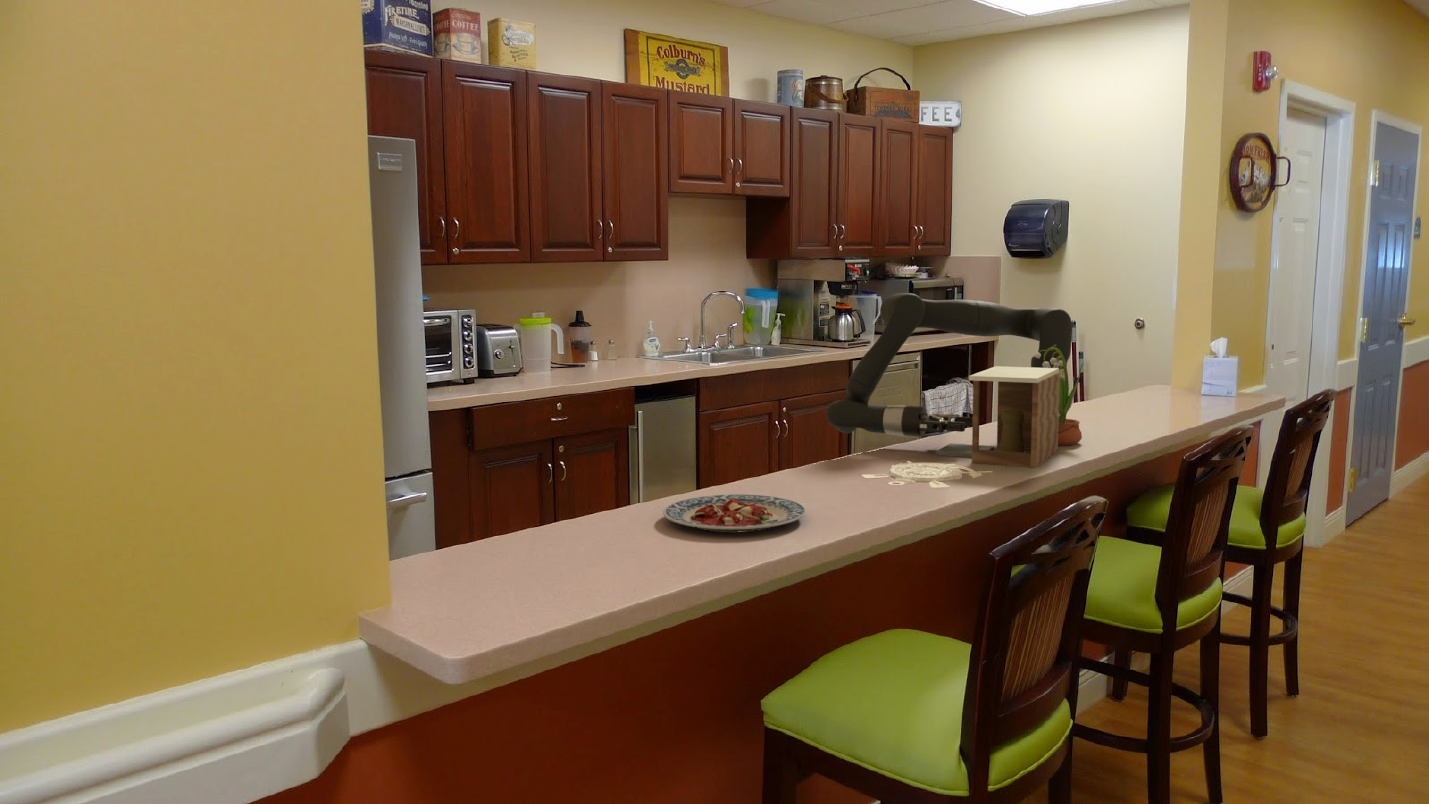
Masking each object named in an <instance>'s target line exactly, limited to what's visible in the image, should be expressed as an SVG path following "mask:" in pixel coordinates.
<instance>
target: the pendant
mask: <svg viewBox="0 0 1429 804" xmlns="http://www.w3.org/2000/svg"><path fill="white" fill-rule="evenodd" d="M962 470H965V471H962ZM982 473H983V474H984V473H987V474H988V473H989V474H990V473H993V470H984V471H982V470H981V471H979V470H978V471H976V470H974V469H972V468H970V467H967V466H963V465H957V464H956V463H941V462H940V463H939V462H936V463H935V462H912V461H911V460H906V463H902V462H900V463H898V464H896V463H895V464H893V465H891V466H890V470H889V473H878V474H876V473H875V474H873V473H871V474H870V473H869V474H861V477H862V478H864V479H866V480H867V479H880V478H881V479H882V478H885V479H886V478H888V477H889V478H890V477H893V479H891V481H889V482H888V483H887V485H890V486H895V485H899V486H905V485H906V484H912V485H913V484H916V483H917V482H928V485H929V487H930V488H931V489H946V488H949V489H950V488H951V486H950V485H948V484H946V483H944V482H947V481H955V480H960V479H962V478H963V477H962V476H963V475H962V474H967V475H968V476H970V477H972V479H976V478H979V477H981V476H982Z"/></svg>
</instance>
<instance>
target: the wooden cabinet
mask: <svg viewBox="0 0 1429 804" xmlns="http://www.w3.org/2000/svg"><path fill="white" fill-rule="evenodd" d="M968 381H972V417H973V427H972V429H971V430H972V432H971V433H972V437H971V439H972V440H971V442H972V444H971V445H972V457H971V463H973V464H986V465H999V466H1011V467H1020V468H1021V467H1024V468H1037V467H1038V466H1041V464H1043V463H1044V462H1045V461H1046V460H1047V459H1049V458H1050V457H1051V456H1052V455H1054V454H1055V453H1056V452H1057V451H1058V450H1059V449H1058V448H1059V445H1058V423H1059V385H1060V372H1059V368H1034V367H1031V366H1030V367H1026V366H999V365H998V366H997V365H995V366H993V367H990V368H987V369H985V370H982V371H979V372H976V373H974V374H971V375H970V374H969V375H968ZM981 381H982V382H997V423H996V424H997V428H996V429H997V430H996V431H997V432H996V448H1000V444H1001V437H1002V431H1003V422H1002V420H1001V415H1002V413H1003V411H1005V410H1019V411H1021V412H1023V414H1024V421H1023V423H1022V424H1021V425H1022V434H1023V443H1024V450H1030V452H1025V453H1023V452H1009V451H999V450H995V449H994V450H981V449H979V445H980V402H981V401H980V400H981V399H980V397H981V396H980V394H981V393H980V391H981Z"/></svg>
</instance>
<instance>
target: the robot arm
mask: <svg viewBox="0 0 1429 804" xmlns="http://www.w3.org/2000/svg"><path fill="white" fill-rule="evenodd" d="M879 311H880V317H881V319H882V320H883V322H884V323H885V324H886V325H885V328H884V329H883V331H882V333H881V334H880V336H879V337H878V338H877V340H876V341H875V343H874V344H873V345H872V346H871V347H870V349H868V351H866V353H865V354H864V355H863V356H862V358H860V360H859V362H858V363H857V365H856V367H855V368H854V370H853V372H852V373H851V375H850V376H849V379H848V381H847V383H846V384H845V391H846V396H845V398H844V399H841V400H840V399H839V400H836V401H833V402H831V403H830V404H828V406H827V408H826V411H825V417H826V421H828V423H829V424H830V425H831V426H832V427H833V428H835V429H836V430H837V431H839V432H841V433H842V434H850V433H852V432H854V431H855V430H857V429H862V430H865V431H866V432H869V433H876V434H887V435H888V434H889V435H892V436H893V435H894V436H903V437H904V436H905V437H919V438H921V437H924V435H925V434H926V432H930V433H940V434H942V433H948V432H959V433H961V432H965V431H966V427H970V428H971V427H972V428H973V416H971V417H969V416H960V414H958V413H956V414H951V413H950V414H949V413H938V412H937V413H932V414H929V415H928V413H927V410H926V408H925V406H920V405H903V404H902V405H900V404H896V405H895V404H894V405H884V404H882V405H881V404H869V403H870V402H869V401H870V399H871V396H872V395H873V394H874V391H875V390H876V388H877V386H878V384H879V383H880V381H881V380H882V378H883V375H884V374H885V372H886V370H887V369H888V368H889V366H890V364H891V363H892V361H893V360H894V359H895V357H896V355H897V353H898V352H899V351H900V349H902V347H903V345H904V344H905V343H906V341H907V340H908V338H909V337H910V336H911V335H912V334H913V333H914V331H915V330H916V329H917V328H925V329H933V330H938V331H942V332H947V333H953V334H958V335H965V336H975V337H996V336H997V337H999V336H1015V337H1020V338H1025V339H1030V340H1033V341H1037V342H1039V344H1038V350H1037V353H1040V354H1041V356H1040V359H1039V358H1036V357H1034V356H1035V355H1034V356H1032V357H1031V358H1030V359H1031V360H1030V367H1034V368H1044V367H1043V362H1044V354H1045V352H1046V351H1041V350H1047V349H1049V348H1052V346H1053V345H1056V346H1053V347H1055V348H1058V349H1059V350H1060V351H1061V353H1062V355H1063V357H1064V359H1065V362H1066V366H1067V367H1068V362H1069V359H1070V356H1071V350H1072V339H1073V321H1072V318H1071V316H1070V314H1069V313H1068V312H1067V311H1065V310H1064V309H1061V308H1057V307H1033V308H1020V307H1019V308H1018V307H1017V308H1016V307H1015V308H1014V307H1009V306H1006V305H1002V304H1000V303H996V302H991V301H985V300H984V301H983V300H975V299H942V300H938V299H937V300H931V299H926V298H925V299H924V298H921V297H920V296H919V295H917V294H915V293H910V292H903V293H902V292H900V293H894V294H891V295H890V296H888V297H887V298H885V299H884V301H883V302H882V303H881V306H880V309H879ZM1040 351H1041V352H1040ZM1054 352H1056V350H1049V351H1048V352H1047V354H1046V356H1045V361H1046V362H1049V364H1050V366H1051V367H1048V368H1053V367H1054V364H1052V365H1051V362H1050V360H1051V358H1052V355H1053V353H1054ZM1058 356H1060V355H1059V353H1058V352H1057V353H1055V354H1054V355H1053V358H1057V357H1058ZM1057 360H1058V358H1057ZM1058 361H1060V358H1059V360H1058ZM1061 361H1062V359H1061ZM1057 363H1058V362H1057ZM1060 367H1061V366H1059V369H1060ZM1063 371H1064V367H1062V368H1061V369H1060V371H1059V372H1060V374H1061V375H1062V373H1063ZM1063 376H1064V377H1065V375H1064V373H1063ZM1059 416H1060V414H1059ZM952 419H953V421H952Z"/></svg>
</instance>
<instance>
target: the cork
mask: <svg viewBox="0 0 1429 804" xmlns="http://www.w3.org/2000/svg"><path fill="white" fill-rule="evenodd" d="M1001 420H1002V422H1003V431H1002V437H1001V444H1000V447H999V450H998V451H1009V452H1023V453H1026V452H1025V449H1024V443H1023V434H1022V425H1021V424H1022V423H1023V421H1024V414H1023V412H1021V411H1019V410H1005V411H1003V413H1002V415H1001Z"/></svg>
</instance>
